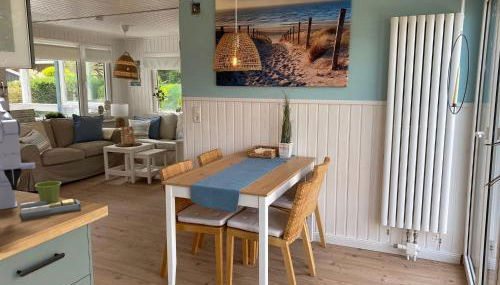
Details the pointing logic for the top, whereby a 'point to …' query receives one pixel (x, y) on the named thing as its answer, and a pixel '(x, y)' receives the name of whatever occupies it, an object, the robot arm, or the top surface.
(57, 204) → the brass chip
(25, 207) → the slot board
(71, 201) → the brass chip
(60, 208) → the tray
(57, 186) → the plant pot
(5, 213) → the top surface
